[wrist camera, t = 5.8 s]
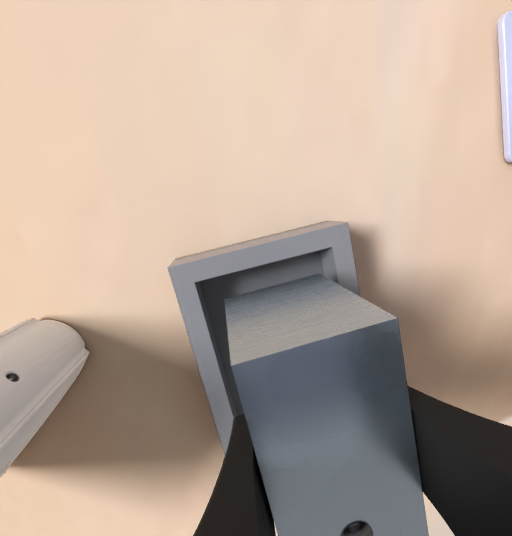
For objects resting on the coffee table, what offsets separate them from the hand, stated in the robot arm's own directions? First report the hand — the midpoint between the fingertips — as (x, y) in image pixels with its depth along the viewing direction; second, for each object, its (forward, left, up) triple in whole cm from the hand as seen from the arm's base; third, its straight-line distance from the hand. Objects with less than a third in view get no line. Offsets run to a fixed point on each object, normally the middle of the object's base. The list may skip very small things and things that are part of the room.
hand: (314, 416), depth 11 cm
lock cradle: (0, 0, -7) cm, 7 cm away
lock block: (0, 0, -3) cm, 3 cm away
